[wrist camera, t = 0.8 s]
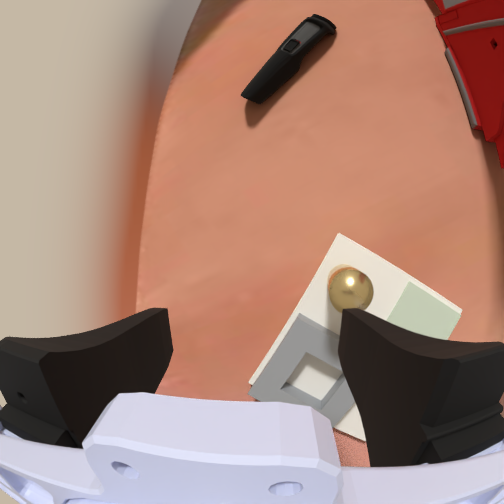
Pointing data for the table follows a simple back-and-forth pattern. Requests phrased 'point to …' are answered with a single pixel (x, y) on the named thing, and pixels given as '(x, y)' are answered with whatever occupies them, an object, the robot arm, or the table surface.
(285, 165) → the table surface
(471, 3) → the tool
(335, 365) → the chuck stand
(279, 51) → the electric trimmer
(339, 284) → the brass cylinder
